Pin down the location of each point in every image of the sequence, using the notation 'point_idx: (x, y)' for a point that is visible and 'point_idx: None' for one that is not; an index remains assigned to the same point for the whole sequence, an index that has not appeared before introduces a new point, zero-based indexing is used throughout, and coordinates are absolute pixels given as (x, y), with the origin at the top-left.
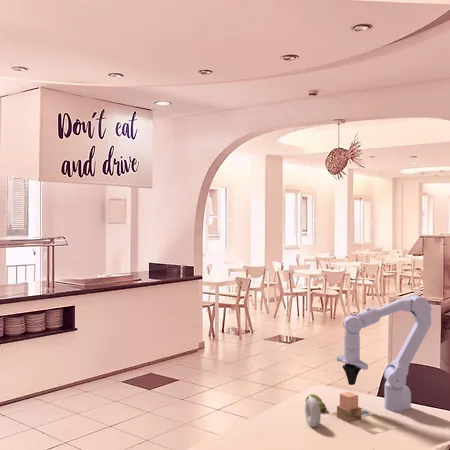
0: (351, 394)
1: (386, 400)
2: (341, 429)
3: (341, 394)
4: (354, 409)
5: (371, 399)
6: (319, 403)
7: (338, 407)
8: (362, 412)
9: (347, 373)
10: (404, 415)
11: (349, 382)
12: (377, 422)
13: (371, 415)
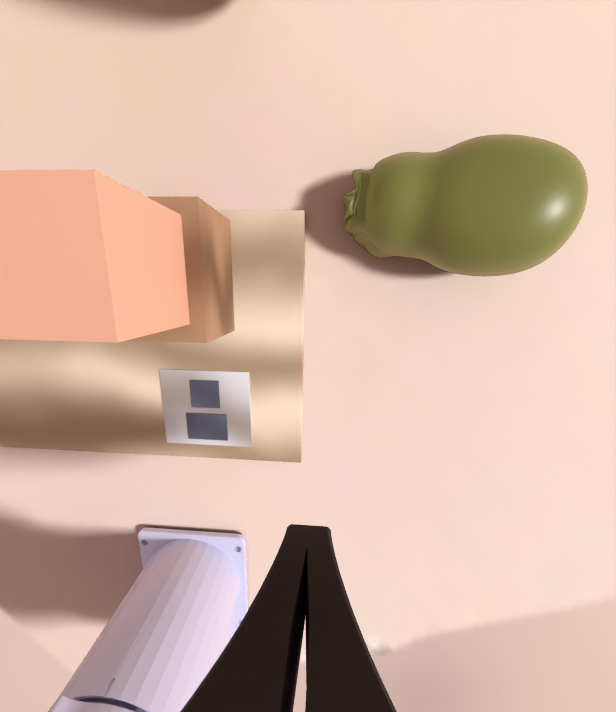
0: (18, 287)
1: (174, 589)
2: (90, 122)
3: (64, 170)
4: None
5: (368, 601)
6: (394, 174)
7: (182, 199)
8: (214, 410)
9: (318, 686)
10: (125, 553)
11: (306, 543)
12: (62, 366)
13: (159, 418)
